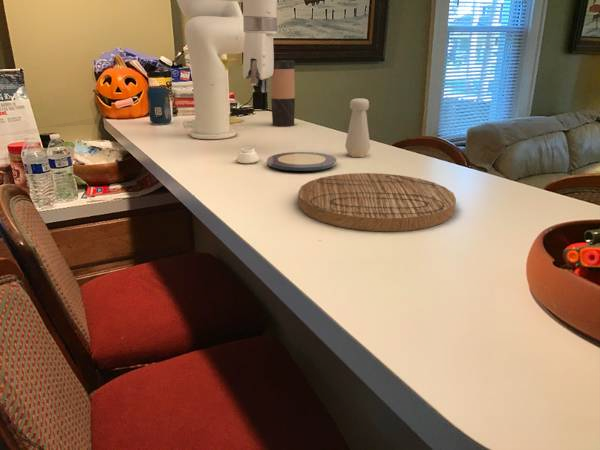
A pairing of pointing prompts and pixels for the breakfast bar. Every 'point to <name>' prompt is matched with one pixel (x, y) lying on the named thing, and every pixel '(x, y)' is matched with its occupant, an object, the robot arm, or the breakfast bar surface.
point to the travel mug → (283, 93)
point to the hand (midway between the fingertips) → (260, 108)
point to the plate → (301, 161)
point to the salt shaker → (358, 129)
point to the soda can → (159, 105)
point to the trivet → (376, 202)
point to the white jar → (247, 156)
